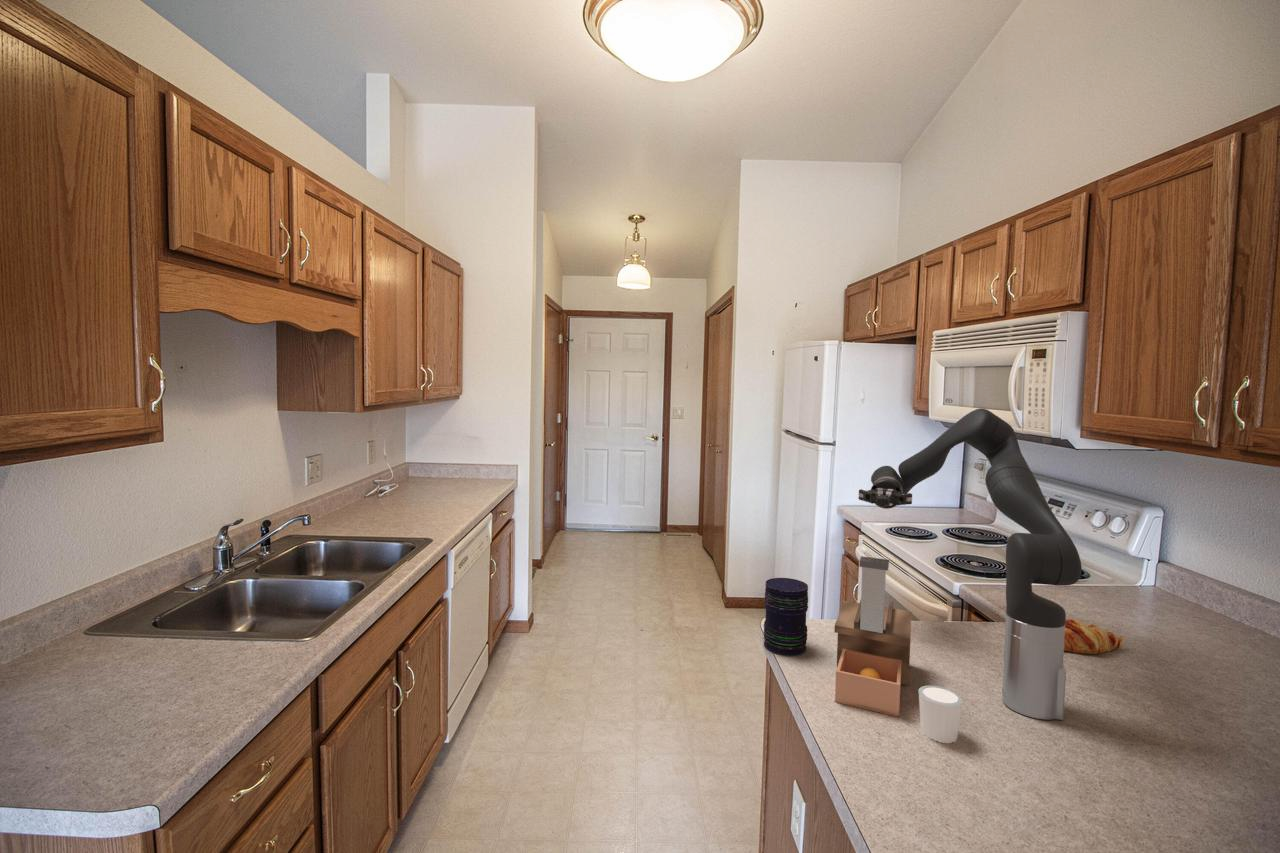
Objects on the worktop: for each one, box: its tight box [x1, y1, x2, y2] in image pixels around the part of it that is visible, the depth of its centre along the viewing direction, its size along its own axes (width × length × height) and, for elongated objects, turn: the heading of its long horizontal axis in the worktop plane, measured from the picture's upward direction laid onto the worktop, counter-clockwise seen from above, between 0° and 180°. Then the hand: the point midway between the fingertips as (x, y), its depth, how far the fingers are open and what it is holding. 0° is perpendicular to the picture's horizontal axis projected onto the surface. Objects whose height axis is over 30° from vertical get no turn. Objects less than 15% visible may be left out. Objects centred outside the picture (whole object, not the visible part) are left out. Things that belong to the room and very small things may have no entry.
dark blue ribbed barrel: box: [763, 577, 809, 657], centre depth 132 cm, size 10×10×15 cm
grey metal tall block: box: [859, 555, 890, 633], centre depth 113 cm, size 5×4×14 cm
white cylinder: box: [917, 685, 963, 744], centre depth 99 cm, size 7×7×7 cm
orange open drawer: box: [834, 649, 902, 718], centre depth 111 cm, size 11×11×6 cm
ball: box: [859, 667, 881, 679], centre depth 113 cm, size 4×4×4 cm
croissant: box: [1064, 618, 1126, 655], centre depth 135 cm, size 21×10×8 cm, turn 90°
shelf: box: [833, 599, 912, 686], centre depth 120 cm, size 14×16×14 cm
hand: (882, 502), depth 134 cm, fingers closed
